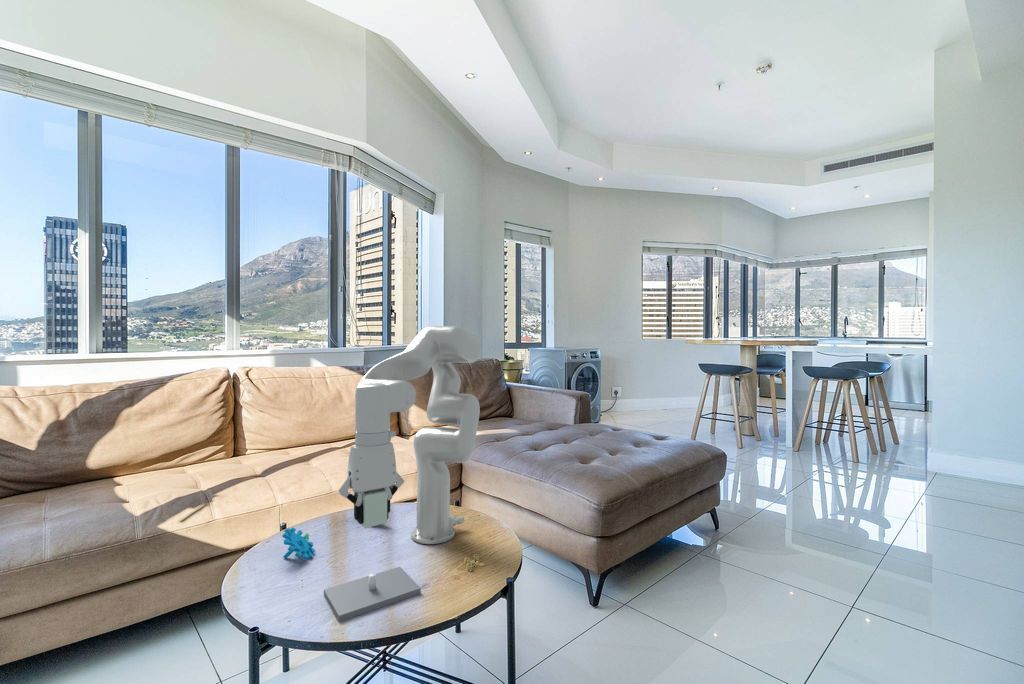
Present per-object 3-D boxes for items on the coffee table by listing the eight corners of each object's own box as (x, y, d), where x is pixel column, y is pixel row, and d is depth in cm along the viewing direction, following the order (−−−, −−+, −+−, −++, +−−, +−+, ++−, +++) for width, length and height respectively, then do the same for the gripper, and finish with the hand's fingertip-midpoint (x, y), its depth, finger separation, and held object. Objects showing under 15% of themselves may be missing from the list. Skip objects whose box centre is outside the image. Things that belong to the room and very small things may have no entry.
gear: (306, 561, 116) (279, 531, 117) (288, 578, 115) (262, 549, 116) (323, 547, 127) (299, 520, 128) (307, 563, 126) (283, 536, 127)
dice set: (467, 574, 115) (467, 566, 114) (460, 565, 119) (460, 557, 119) (486, 569, 117) (486, 562, 117) (478, 560, 121) (478, 553, 121)
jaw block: (379, 515, 108) (379, 485, 108) (387, 522, 104) (387, 491, 103) (357, 520, 105) (357, 489, 105) (364, 528, 101) (365, 496, 101)
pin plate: (399, 571, 114) (400, 554, 114) (420, 593, 105) (420, 574, 105) (323, 594, 104) (323, 576, 104) (338, 621, 94) (338, 601, 94)
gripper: (402, 431, 112) (401, 506, 112) (328, 440, 102) (328, 522, 102) (415, 436, 106) (414, 516, 106) (338, 446, 96) (338, 534, 96)
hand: (372, 518), depth 104 cm, fingers closed on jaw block, 5 cm apart
